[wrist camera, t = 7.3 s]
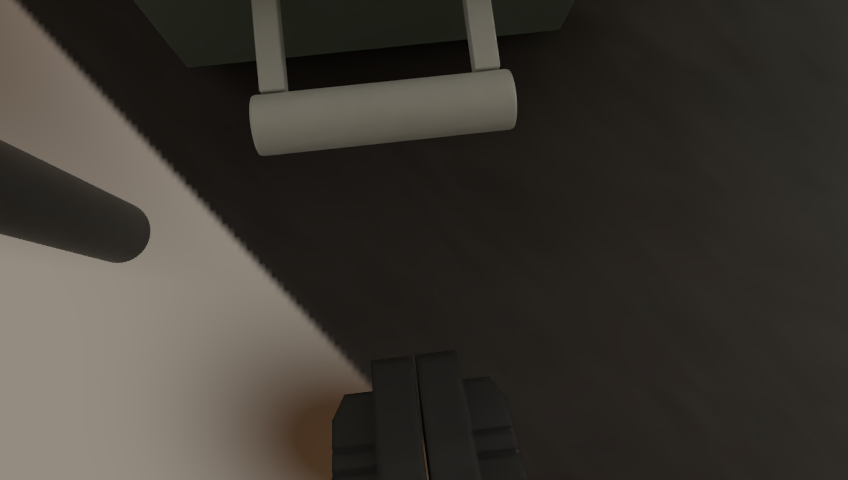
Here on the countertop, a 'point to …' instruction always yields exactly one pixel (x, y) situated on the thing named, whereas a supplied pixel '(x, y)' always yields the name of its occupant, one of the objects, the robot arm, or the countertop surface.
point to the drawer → (350, 31)
